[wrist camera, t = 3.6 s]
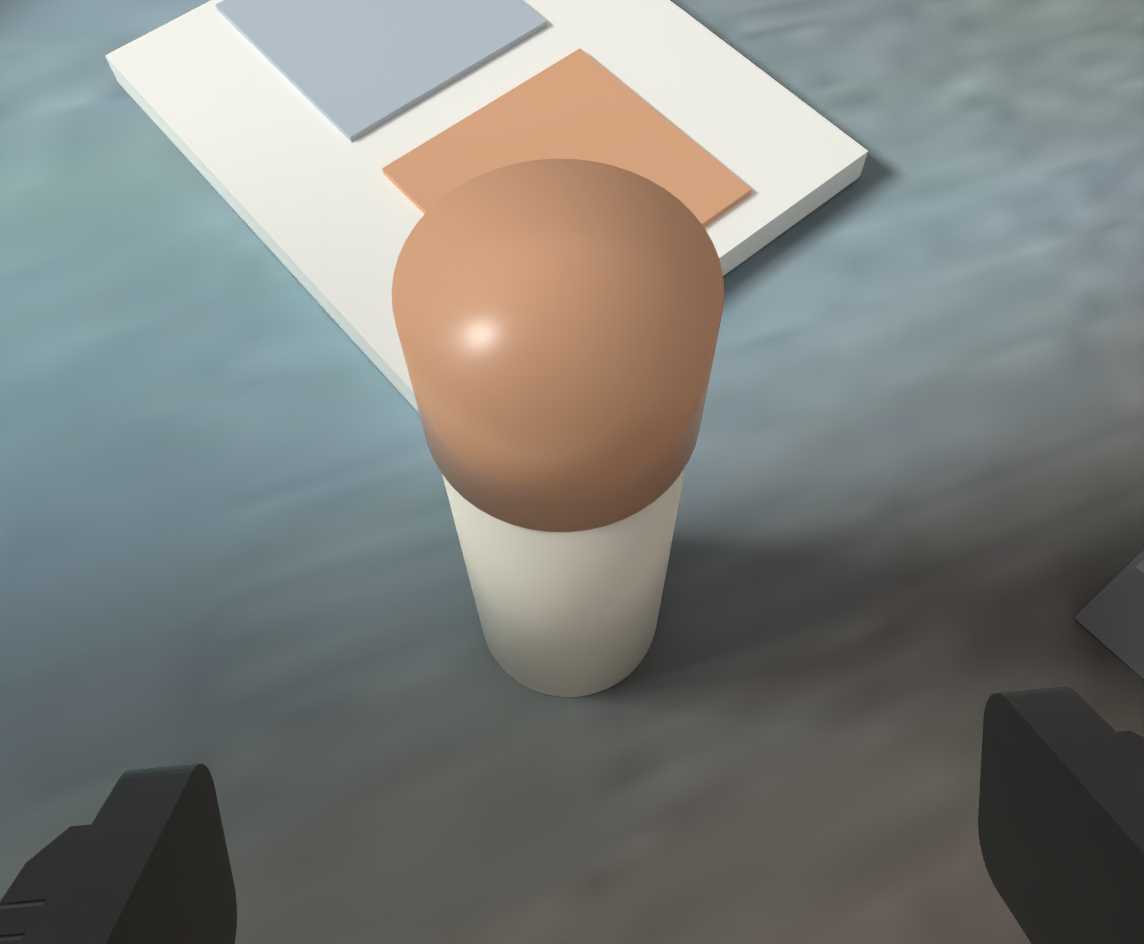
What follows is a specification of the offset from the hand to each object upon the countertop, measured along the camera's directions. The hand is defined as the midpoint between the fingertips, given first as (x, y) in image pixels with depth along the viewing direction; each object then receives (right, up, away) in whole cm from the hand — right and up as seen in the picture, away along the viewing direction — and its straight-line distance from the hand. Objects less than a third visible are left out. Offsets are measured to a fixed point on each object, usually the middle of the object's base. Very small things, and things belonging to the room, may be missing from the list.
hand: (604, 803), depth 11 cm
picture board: (-3, +13, +20) cm, 24 cm away
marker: (0, 0, +13) cm, 13 cm away
